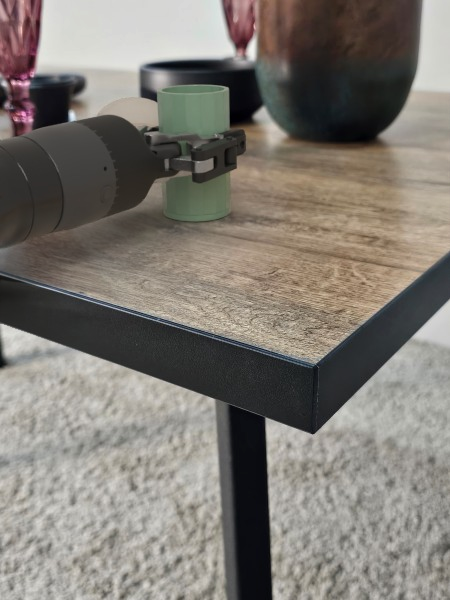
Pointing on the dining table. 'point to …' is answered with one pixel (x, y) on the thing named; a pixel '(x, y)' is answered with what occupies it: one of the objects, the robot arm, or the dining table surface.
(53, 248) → the dining table surface
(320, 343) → the dining table surface
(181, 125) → the cup
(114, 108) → the decorative bird
